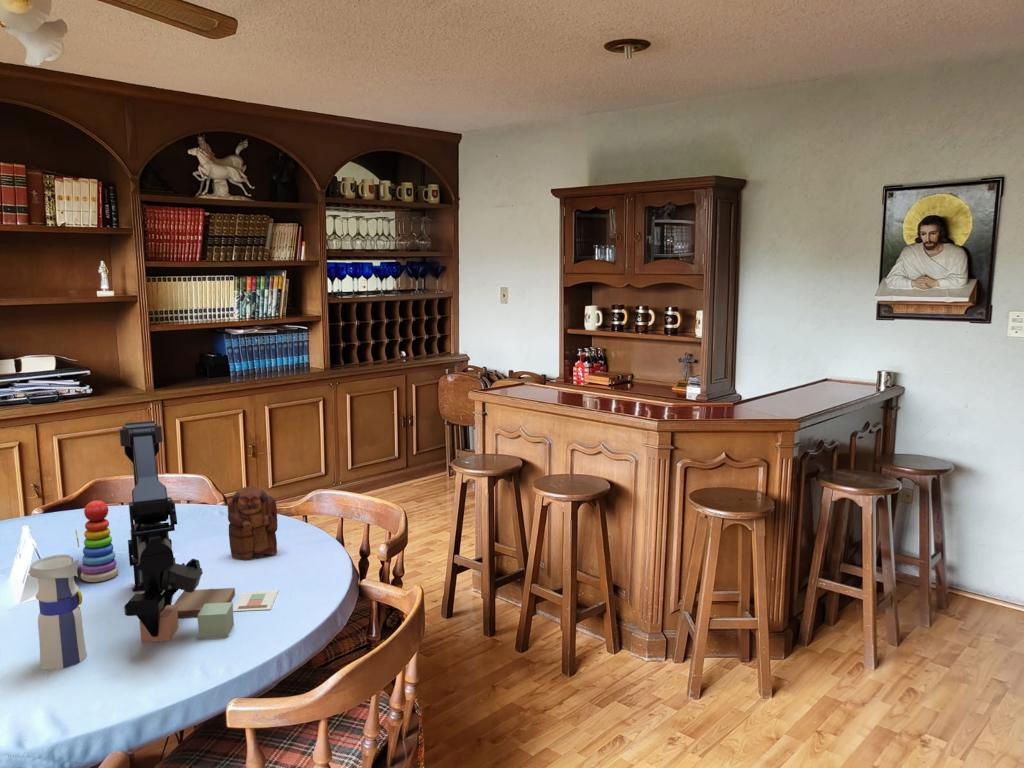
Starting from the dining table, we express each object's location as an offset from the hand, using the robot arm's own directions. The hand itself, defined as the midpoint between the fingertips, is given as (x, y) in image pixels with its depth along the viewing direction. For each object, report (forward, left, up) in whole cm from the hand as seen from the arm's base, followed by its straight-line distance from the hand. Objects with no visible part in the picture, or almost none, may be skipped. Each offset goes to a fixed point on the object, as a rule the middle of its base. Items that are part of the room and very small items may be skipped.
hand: (159, 629), depth 159 cm
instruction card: (+16, +14, -1) cm, 21 cm away
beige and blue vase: (-15, -8, -1) cm, 17 cm away
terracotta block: (0, 0, -1) cm, 1 cm away
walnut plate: (+5, +13, -1) cm, 14 cm away
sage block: (+11, 0, -1) cm, 11 cm away
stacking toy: (-24, +33, -1) cm, 41 cm away
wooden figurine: (+10, +43, -1) cm, 44 cm away
